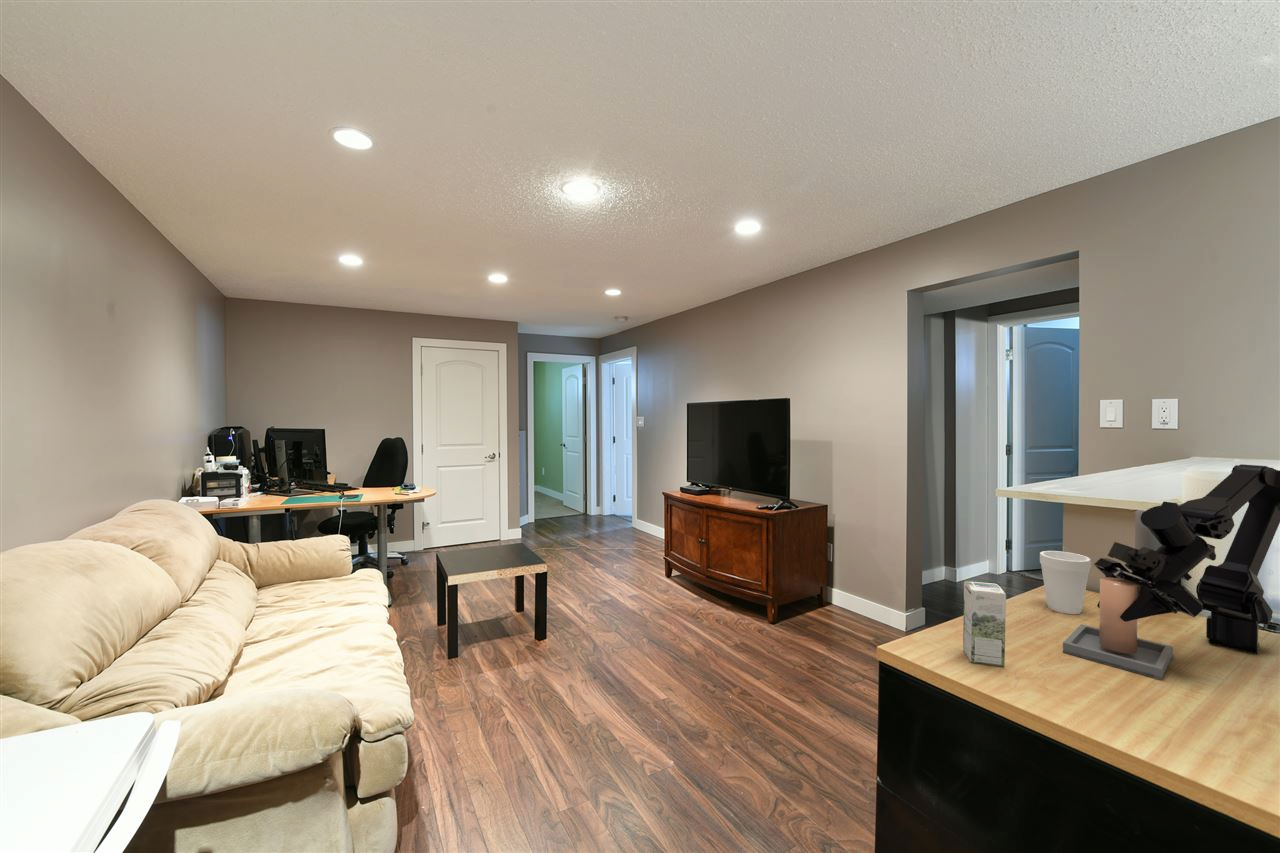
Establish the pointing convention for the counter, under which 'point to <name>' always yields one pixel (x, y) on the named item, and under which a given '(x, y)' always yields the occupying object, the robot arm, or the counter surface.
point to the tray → (1145, 661)
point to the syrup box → (984, 623)
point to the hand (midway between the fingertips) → (1110, 613)
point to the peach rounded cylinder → (1117, 615)
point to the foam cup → (1065, 580)
